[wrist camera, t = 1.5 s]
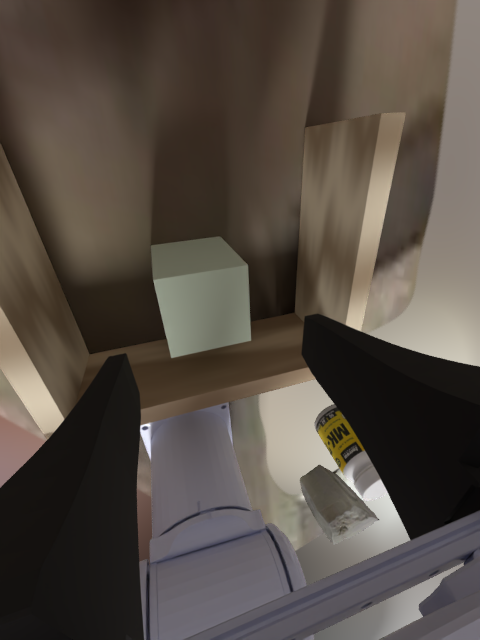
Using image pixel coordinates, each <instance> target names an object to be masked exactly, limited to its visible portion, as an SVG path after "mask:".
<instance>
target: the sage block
mask: <svg viewBox="0 0 480 640" xmlns="http://www.w3.org/2000/svg"><path fill="white" fill-rule="evenodd" d="M151 257H152V271H153V282H154V286H155V290H156V295H157V299H158V303H159V307H160V312H161V316H162V320H163V325H164V329H165V333H166V338H167V342H168V346H169V351H170V355H171V358H174V357H179V356H183V355H188V354H192V353H197V352H201V351H206V350H210V349H215V348H220V347H224V346H229V345H233V344H238V343H242V342H247V341H251V326H250V301H249V277H248V265H247V263H246V262H245V261H244V260H243V259H242V258H241V257H240V256H239V255H238V254H237V253H236V252H235V251H234V250H233V249H232V248H231V247H230V246H229V245H228V244H227V243H226V242H225V241H224V240H223V239H222V238H221V236H218V237H211V238H203V239H195V240H188V241H180V242H172V243H165V244H157V245H151Z"/></svg>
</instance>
